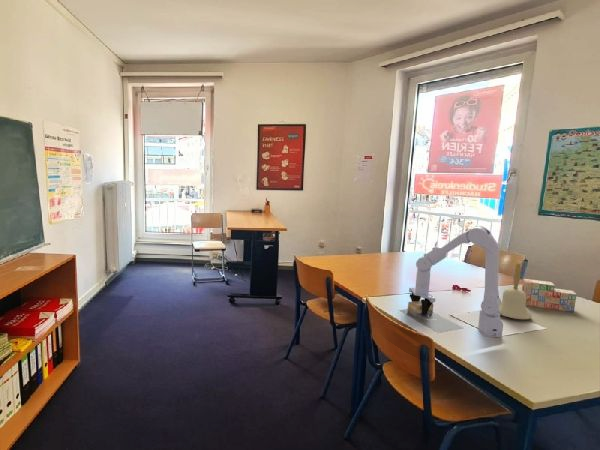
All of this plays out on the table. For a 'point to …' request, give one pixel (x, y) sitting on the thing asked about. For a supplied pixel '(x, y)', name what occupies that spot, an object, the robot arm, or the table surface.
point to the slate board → (434, 322)
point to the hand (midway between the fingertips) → (420, 312)
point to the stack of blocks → (548, 295)
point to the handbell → (514, 300)
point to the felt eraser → (417, 308)
